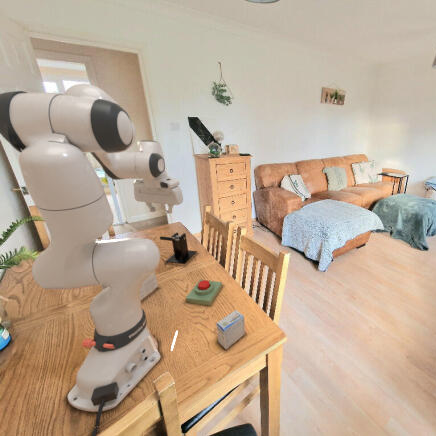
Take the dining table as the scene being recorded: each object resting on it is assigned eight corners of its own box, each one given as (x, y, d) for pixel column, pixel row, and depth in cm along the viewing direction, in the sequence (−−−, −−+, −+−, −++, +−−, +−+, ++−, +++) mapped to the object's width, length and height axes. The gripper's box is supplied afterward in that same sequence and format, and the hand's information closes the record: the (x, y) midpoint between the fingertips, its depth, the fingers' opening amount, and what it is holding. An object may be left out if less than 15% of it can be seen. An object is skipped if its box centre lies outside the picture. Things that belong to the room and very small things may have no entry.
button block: (209, 305, 93) (209, 297, 92) (186, 302, 95) (184, 294, 93) (222, 286, 104) (221, 278, 103) (200, 283, 106) (199, 276, 104)
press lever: (170, 241, 108) (171, 236, 108) (159, 240, 108) (160, 235, 108) (185, 240, 120) (186, 236, 120) (175, 239, 120) (175, 234, 120)
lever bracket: (184, 266, 117) (181, 241, 112) (166, 263, 118) (161, 239, 113) (197, 253, 128) (194, 230, 123) (179, 251, 129) (176, 228, 124)
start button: (206, 291, 96) (206, 287, 95) (196, 289, 96) (196, 286, 96) (211, 284, 100) (211, 280, 99) (201, 282, 100) (201, 279, 100)
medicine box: (237, 327, 84) (235, 309, 81) (245, 335, 82) (244, 315, 78) (217, 342, 78) (215, 322, 75) (226, 350, 76) (224, 330, 73)
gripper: (126, 181, 97) (134, 212, 102) (173, 184, 94) (178, 217, 100) (138, 177, 102) (144, 207, 108) (182, 181, 100) (186, 211, 105)
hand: (161, 212), depth 104 cm, fingers open, 6 cm apart
